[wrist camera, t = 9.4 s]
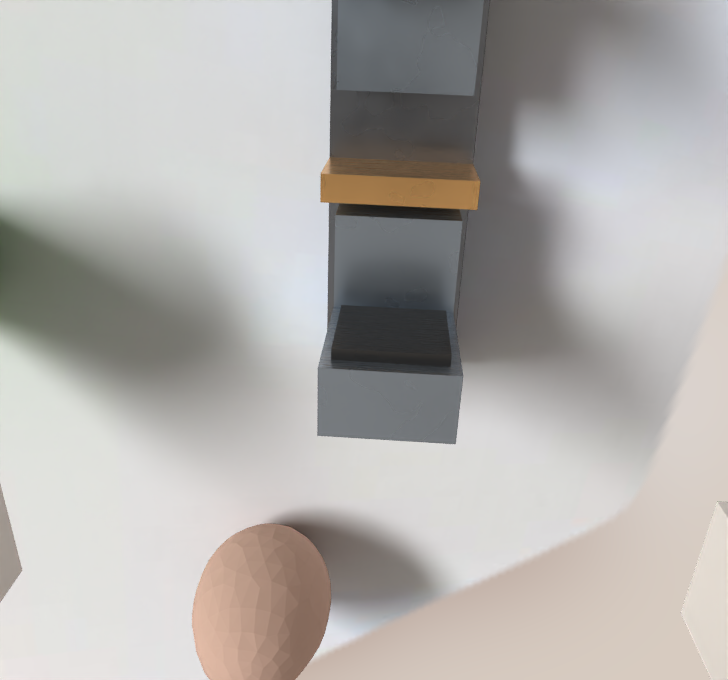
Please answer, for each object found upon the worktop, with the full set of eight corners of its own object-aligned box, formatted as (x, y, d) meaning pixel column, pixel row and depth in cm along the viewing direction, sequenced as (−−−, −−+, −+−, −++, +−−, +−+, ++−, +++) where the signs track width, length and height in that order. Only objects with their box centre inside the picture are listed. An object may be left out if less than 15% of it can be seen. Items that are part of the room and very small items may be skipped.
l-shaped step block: (342, 195, 27) (318, 260, 20) (457, 200, 27) (475, 268, 19) (339, 332, 29) (317, 435, 22) (443, 338, 29) (455, 444, 22)
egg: (212, 573, 39) (159, 724, 30) (226, 481, 36) (171, 620, 28) (326, 596, 39) (304, 751, 31) (349, 506, 36) (331, 651, 28)
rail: (339, -103, 24) (297, -174, 15) (493, -98, 24) (545, -167, 15) (331, 349, 32) (301, 479, 23) (448, 355, 32) (464, 490, 23)
